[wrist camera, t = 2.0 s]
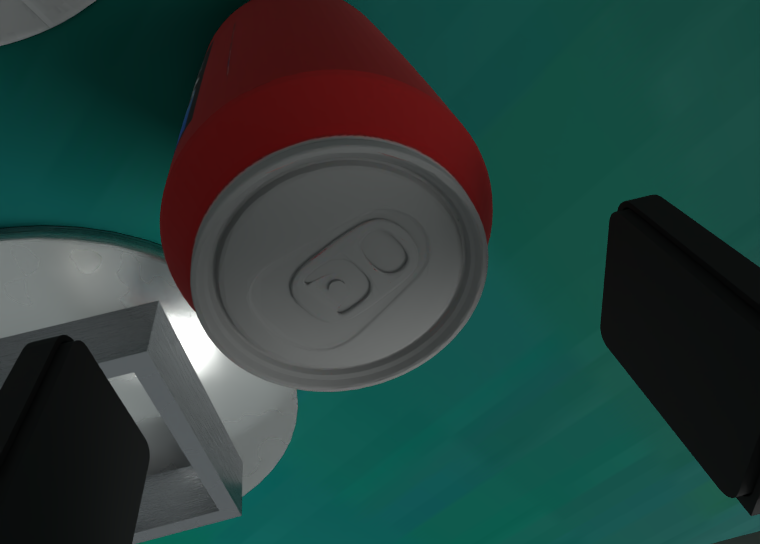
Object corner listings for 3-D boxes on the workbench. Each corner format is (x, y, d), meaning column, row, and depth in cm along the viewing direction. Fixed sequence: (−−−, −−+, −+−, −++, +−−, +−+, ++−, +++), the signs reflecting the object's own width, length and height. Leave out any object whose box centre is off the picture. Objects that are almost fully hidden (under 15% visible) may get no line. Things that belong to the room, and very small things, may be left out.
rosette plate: (-296, 295, 20) (-411, 379, 16) (226, 175, 21) (220, 231, 17) (2, 554, 31) (-29, 636, 27) (331, 467, 32) (340, 536, 29)
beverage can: (157, 77, 18) (49, 285, 9) (310, -66, 17) (386, -7, 7) (293, 209, 22) (323, 458, 12) (428, 101, 21) (583, 289, 11)
